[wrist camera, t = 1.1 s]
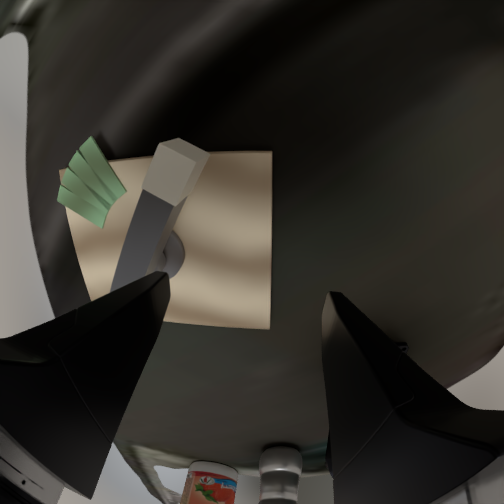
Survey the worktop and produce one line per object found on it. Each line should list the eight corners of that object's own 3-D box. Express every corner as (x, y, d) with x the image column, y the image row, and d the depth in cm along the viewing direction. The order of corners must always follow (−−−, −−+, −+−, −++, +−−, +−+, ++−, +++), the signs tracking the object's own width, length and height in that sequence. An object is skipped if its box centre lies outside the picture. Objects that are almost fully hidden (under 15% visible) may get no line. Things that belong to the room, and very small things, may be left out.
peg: (158, 281, 21) (134, 318, 17) (131, 266, 21) (103, 299, 17) (220, 151, 16) (200, 164, 12) (186, 134, 16) (155, 141, 12)
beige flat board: (270, 320, 25) (268, 335, 23) (95, 303, 26) (86, 315, 25) (272, 118, 18) (270, 118, 16) (59, 143, 19) (44, 147, 17)
